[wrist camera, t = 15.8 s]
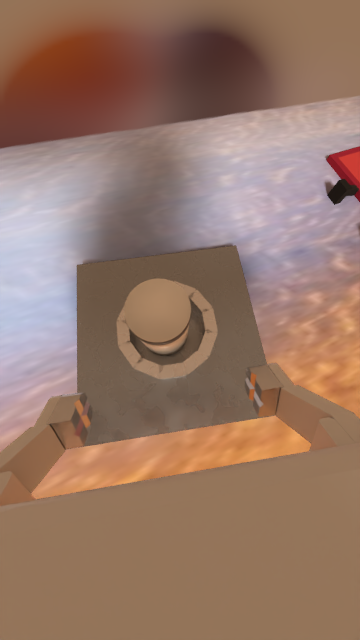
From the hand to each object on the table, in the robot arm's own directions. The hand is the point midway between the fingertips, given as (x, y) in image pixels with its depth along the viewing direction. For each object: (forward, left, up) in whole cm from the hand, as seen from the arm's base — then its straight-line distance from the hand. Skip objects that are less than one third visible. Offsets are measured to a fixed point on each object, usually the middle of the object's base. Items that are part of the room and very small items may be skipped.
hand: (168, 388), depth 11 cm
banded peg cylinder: (0, +6, -12) cm, 13 cm away
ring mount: (0, +6, -13) cm, 14 cm away
